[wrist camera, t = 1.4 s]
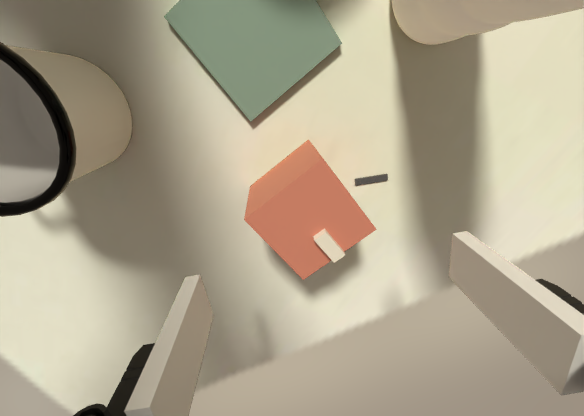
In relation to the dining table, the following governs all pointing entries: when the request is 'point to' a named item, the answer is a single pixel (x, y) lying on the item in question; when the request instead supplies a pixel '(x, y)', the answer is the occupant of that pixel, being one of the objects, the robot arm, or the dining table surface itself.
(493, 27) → the water bottle
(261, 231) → the orange box with tab
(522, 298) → the robot arm
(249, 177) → the dining table surface
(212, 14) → the pad
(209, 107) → the dining table surface
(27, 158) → the mug
